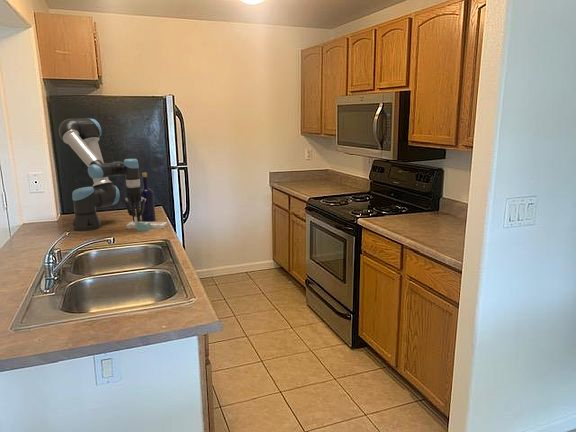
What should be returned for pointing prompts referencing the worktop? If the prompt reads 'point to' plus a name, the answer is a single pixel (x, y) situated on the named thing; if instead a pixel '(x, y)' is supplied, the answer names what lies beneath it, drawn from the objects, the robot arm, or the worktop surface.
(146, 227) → the stub
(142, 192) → the bottle
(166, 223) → the slab
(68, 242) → the worktop surface
